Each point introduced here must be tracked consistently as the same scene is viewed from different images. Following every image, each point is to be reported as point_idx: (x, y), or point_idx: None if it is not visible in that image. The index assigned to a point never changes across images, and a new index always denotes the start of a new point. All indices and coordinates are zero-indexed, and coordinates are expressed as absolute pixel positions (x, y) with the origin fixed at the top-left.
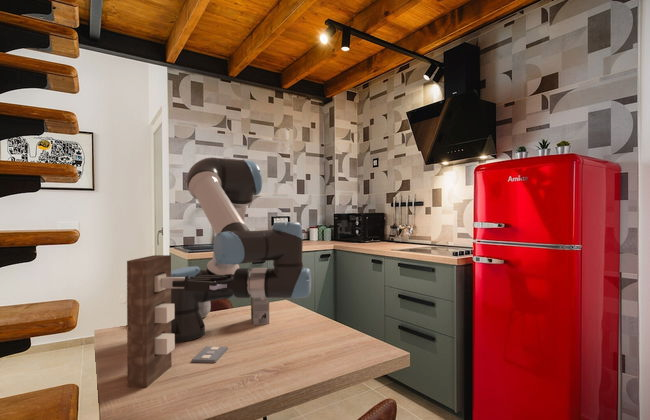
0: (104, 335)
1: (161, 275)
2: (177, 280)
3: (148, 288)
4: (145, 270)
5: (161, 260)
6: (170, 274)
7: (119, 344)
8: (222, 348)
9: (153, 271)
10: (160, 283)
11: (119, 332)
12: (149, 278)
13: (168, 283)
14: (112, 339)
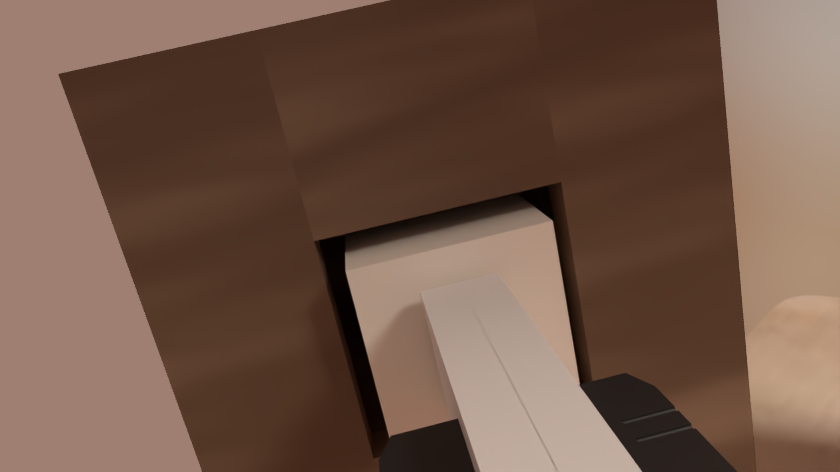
0: (772, 331)
1: (428, 253)
2: (465, 452)
3: (223, 407)
4: (106, 199)
5: (454, 33)
6: (718, 208)
7: (762, 422)
8: None
9: (280, 201)
10: (426, 354)
11: (835, 337)
12: (210, 294)
13: (450, 407)
14: (772, 371)
